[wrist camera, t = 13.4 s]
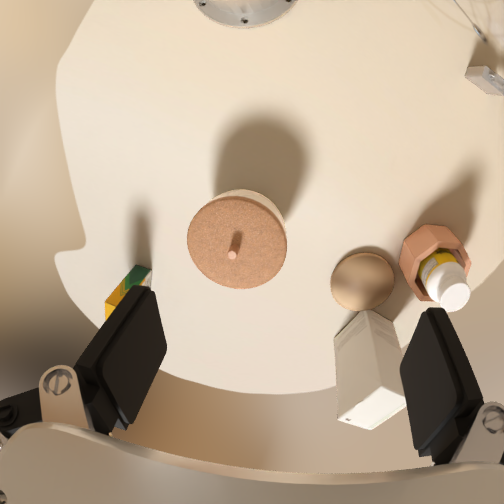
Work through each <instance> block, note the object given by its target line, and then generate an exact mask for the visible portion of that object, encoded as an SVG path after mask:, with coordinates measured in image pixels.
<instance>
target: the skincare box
mask: <svg viewBox="0 0 504 504" xmlns="http://www.w3.org/2000/svg"><path fill="white" fill-rule="evenodd" d="M334 351H335V366H336V386H337V413H338V414H337V420H339V421H342V422H346V423H349V424H352V425H355V426H359V427H362V428H365V429H369V430H372V429H373V428H375V427H376V426H378V425H380V424H381V423H383V422H384V421H386V420H387V419H388V418H390V417H391V416H393V415H394V414H396V413H397V412H398V411H400V410H401V409H403V408H404V407H406V406H407V405H406V400H405V395H404V390H403V386H402V381H401V377H400V364H401V362H402V359H403V355H402V352H401V348H400V345H399V341H398V338H397V334H396V331H395V328H394V324H393V322H391V321H389V320H388V319H386V318H384V317H382V316H381V315H379V314H377V313H375V312H374V311H372V310H370V309H369V310H365V311H360V312H359V313H358V315H357V316H356V317H355V318H354V319H353V320H352V321H351V322H350V323H349V324H348V325H347V326H346V327H345V328H344V329H343V330H342V331H341V332H340V333H339V334H338V335H337V336H336V337H335V338H334Z"/></svg>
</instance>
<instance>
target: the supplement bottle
mask: <svg viewBox="0 0 504 504" xmlns="http://www.w3.org/2000/svg"><path fill="white" fill-rule="evenodd" d="M417 273H418V275H419V277H420V279H421V281H422V283H423V285H424V287H425V289H426V291H427V293H428V294H429V296H430V297H431V299H432V300H434V301H435V302H438V303H440V305H441V307H442V308H444V309H445V311H448V312H453V311H456V310H459V309H461V308H462V307H463V306H464V305H465V304H466V303H467V301H468V300H469V297H470V288H469V286H468V284H467V283H466V273H465V271H464V269H463V267H462V266H461V265H460V263H459V262H458V261H457V259H456V258H455V257H454V255H453V254H452V253H451V252H450V250H449V249H448V248H438V249H436V250H435V251H434V252H432V253H431V254H430V255H428V256H427V257H426V258H424V259H423V260H422V261H420V264H419V268H418V271H417Z"/></svg>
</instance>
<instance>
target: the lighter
mask: <svg viewBox="0 0 504 504" xmlns="http://www.w3.org/2000/svg"><path fill="white" fill-rule="evenodd" d="M465 78H467V79H468V80H469V81H471V82H472V83H473V84H475V85H476V86H477V87H479V88H480V89H481V90H483V91H484V92H485V93H486V94H492V95H500V96H504V79H503V78H502V77H501V76H499V75H498V74H496V73H495V72H494V71H492V70H491V69H490V68H489V67H487V66H473V67H468V68H467V71H466V74H465Z"/></svg>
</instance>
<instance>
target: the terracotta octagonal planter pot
mask: <svg viewBox="0 0 504 504" xmlns="http://www.w3.org/2000/svg"><path fill="white" fill-rule="evenodd" d="M438 248H448V249H449V250H450V252H451V253H452V254H453V255H454V257H455V258H456V259H457V261H458V262H459V263H460V265H461V266H462V267H463V269H464V271H465V273H466V277H467V275H468V272H469V269H470V266H471V261H470V259H469V257H468V255H467V253H466V251H465V249H464V247H463V245H462V243H461V242H460V241H459V240H458V239H457V237H456V236H455V235H454V234H453V233H452V232H451V231H450V230H449V229H448V227H446V226H438V225H429V224H424V225H423V226H421V227H420V228H419V229H418V230H416V231H415V232H414V233H412V234H411V235H410V236H408V237H407V238H406V239H404V242H403V246H402V251H401V255H400V259H399V263H398V264H399V266H400V268H401V270H402V272H403V274H404V276H405V278H406V281H407V283H408V285H409V286H410V287H411V289H412V290H413V292H414V293H415V295H416V296H417V297H418V299H419V300H420V301H434V300H432V299H431V297H430V296H429V294H428V293H427V291H426V289H425V287H424V285H423V283H422V281H421V279H420V277H419V275H418V273H417V271H418V268H419V264H420V261H422V260H423V259H424V258H426V257H427V256H428V255H430V254H431V253H432V252H434V251H435V250H436V249H438Z"/></svg>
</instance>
